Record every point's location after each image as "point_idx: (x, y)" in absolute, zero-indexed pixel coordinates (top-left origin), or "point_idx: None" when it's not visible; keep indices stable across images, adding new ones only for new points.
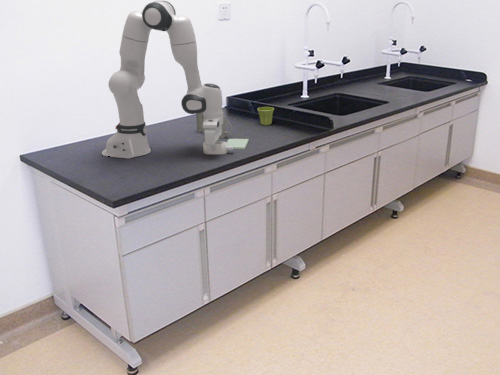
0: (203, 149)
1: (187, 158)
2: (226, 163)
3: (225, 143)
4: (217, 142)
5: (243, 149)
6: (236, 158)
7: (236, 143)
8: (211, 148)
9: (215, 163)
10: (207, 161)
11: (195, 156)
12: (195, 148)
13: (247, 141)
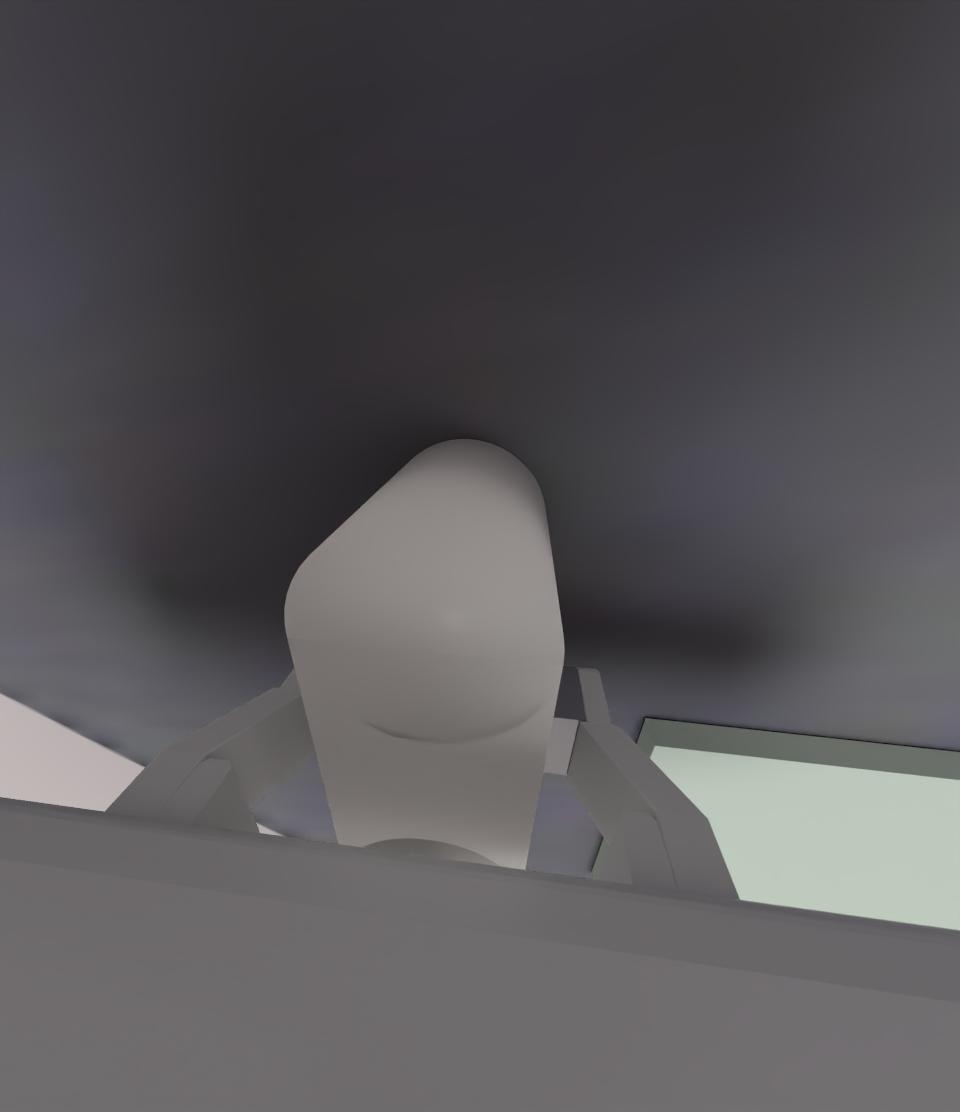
0: (405, 468)
1: (4, 100)
2: (132, 745)
3: None
4: (448, 836)
5: (594, 866)
6: (305, 811)
7: (799, 860)
8: (293, 673)
9: (71, 657)
10: (80, 564)
11: (209, 300)
12: (868, 105)
13: None
